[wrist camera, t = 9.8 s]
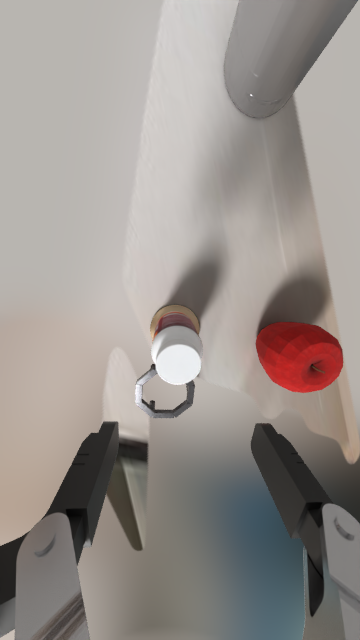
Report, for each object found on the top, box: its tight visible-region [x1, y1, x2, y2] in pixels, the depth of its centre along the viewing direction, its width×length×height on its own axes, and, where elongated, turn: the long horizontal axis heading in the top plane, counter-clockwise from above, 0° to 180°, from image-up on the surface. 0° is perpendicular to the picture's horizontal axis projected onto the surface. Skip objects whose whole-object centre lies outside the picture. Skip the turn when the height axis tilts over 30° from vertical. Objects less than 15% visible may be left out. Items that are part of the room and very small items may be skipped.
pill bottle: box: [151, 311, 203, 385], centre depth 22 cm, size 6×6×11 cm
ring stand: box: [135, 364, 195, 418], centre depth 30 cm, size 10×10×2 cm
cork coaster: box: [150, 305, 199, 339], centre depth 28 cm, size 8×8×1 cm
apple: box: [256, 322, 343, 393], centre depth 25 cm, size 10×10×11 cm
